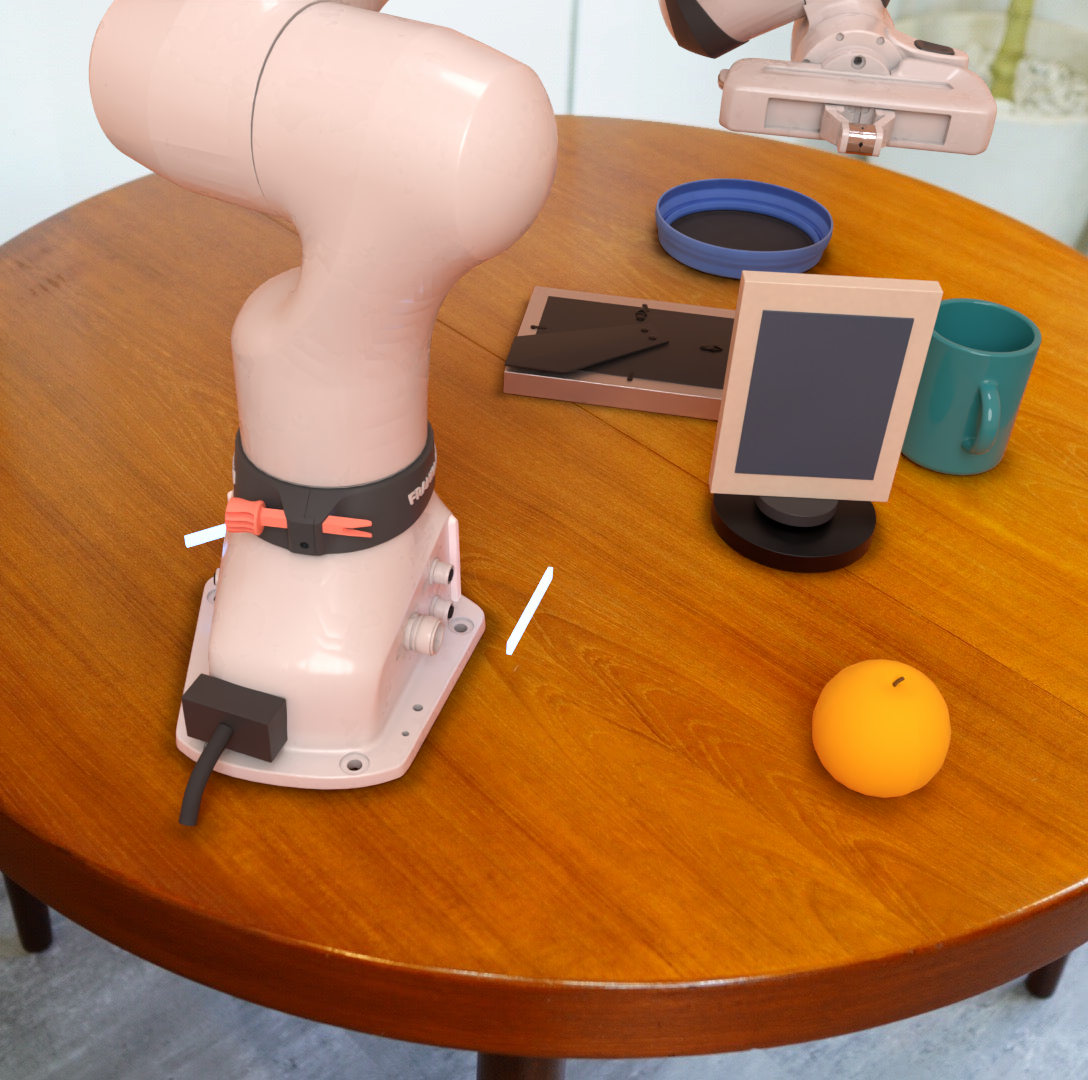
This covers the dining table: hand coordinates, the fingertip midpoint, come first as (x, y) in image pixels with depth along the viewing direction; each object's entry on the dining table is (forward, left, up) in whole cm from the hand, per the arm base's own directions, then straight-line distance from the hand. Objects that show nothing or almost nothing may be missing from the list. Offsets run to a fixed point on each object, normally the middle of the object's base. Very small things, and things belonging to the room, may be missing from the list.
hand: (860, 144), depth 94 cm
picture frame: (+8, +14, -24) cm, 29 cm away
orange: (-37, -3, -24) cm, 44 cm away
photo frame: (-13, +1, -22) cm, 26 cm away
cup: (-2, -12, -24) cm, 27 cm away
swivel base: (-13, +1, -24) cm, 27 cm away
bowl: (+34, +5, -24) cm, 42 cm away
